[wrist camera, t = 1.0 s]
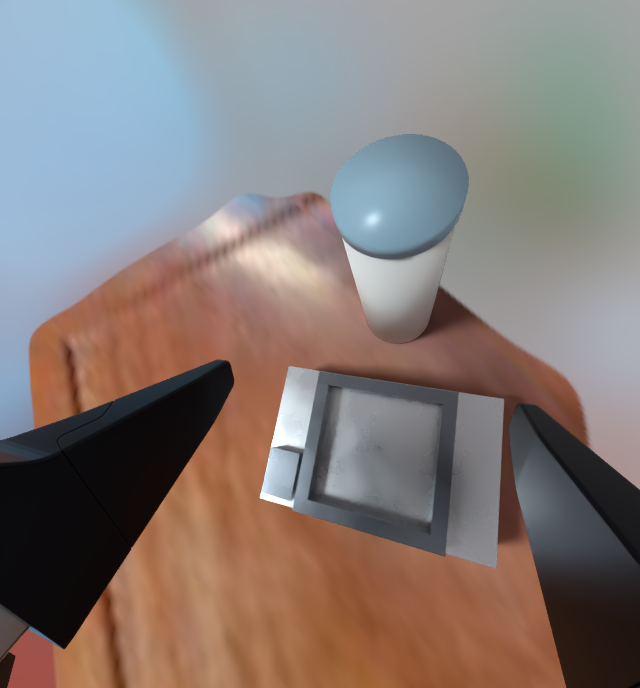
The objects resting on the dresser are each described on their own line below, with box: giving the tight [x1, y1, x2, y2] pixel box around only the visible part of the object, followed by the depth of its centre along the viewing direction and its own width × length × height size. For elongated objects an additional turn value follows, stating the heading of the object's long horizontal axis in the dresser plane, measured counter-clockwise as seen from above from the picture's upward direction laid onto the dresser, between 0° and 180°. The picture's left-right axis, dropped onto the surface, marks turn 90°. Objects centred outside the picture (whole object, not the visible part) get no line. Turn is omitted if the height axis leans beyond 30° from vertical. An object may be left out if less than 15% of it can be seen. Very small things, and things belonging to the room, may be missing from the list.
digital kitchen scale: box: [260, 366, 504, 568], centre depth 20 cm, size 9×14×4 cm, turn 79°
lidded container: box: [330, 134, 469, 344], centre depth 18 cm, size 5×5×13 cm
